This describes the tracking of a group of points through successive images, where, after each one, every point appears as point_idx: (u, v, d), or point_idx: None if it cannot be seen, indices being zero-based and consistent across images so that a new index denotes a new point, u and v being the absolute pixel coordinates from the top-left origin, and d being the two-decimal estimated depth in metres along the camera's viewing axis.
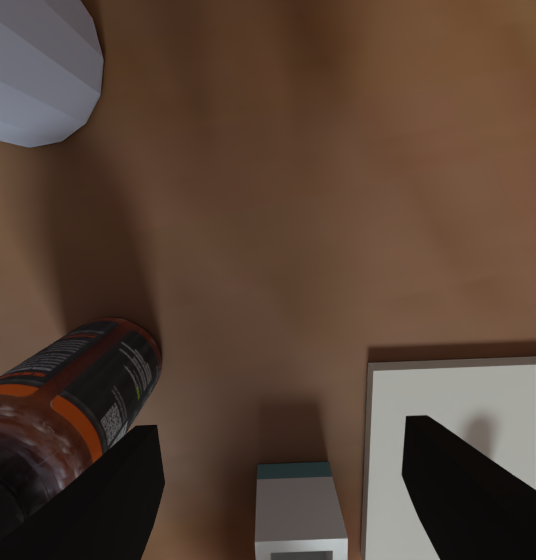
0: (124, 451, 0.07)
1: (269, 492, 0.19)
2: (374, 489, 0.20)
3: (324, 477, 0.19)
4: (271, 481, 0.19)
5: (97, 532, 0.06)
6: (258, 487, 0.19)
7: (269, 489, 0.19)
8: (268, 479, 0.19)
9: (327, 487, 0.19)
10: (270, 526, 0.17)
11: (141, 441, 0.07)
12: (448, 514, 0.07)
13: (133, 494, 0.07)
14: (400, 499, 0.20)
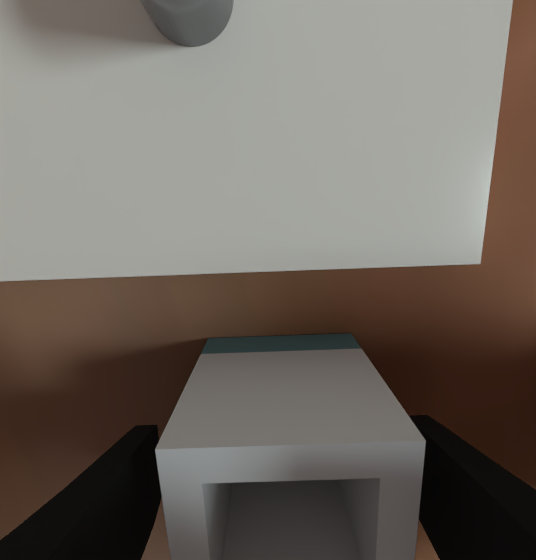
0: (124, 451, 0.07)
1: None
2: (240, 258, 0.09)
3: None
4: None
5: (97, 532, 0.06)
6: None
7: None
8: None
9: None
10: None
11: (141, 441, 0.07)
12: (448, 514, 0.07)
13: (133, 494, 0.07)
14: (269, 192, 0.08)
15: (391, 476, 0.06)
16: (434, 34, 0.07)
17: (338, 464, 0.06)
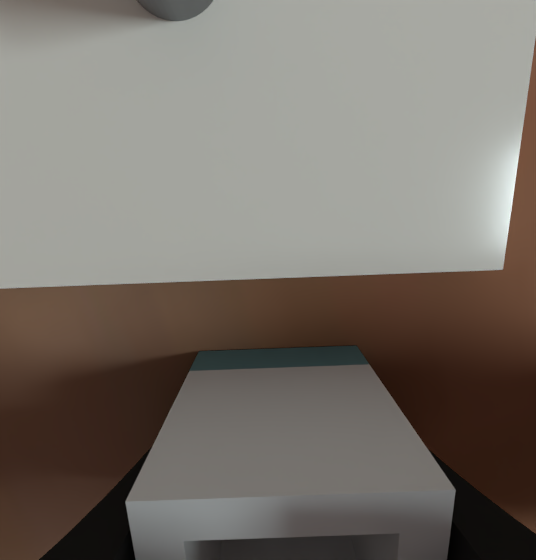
0: None
1: None
2: (233, 264, 0.08)
3: None
4: None
5: None
6: None
7: None
8: None
9: None
10: None
11: None
12: None
13: None
14: (265, 189, 0.07)
15: (413, 531, 0.05)
16: (455, 7, 0.06)
17: (349, 518, 0.05)
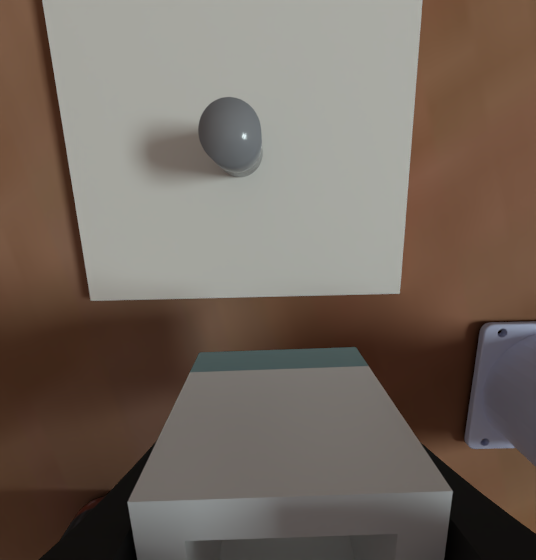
0: None
1: None
2: (262, 288, 0.15)
3: None
4: None
5: None
6: None
7: None
8: None
9: None
10: None
11: None
12: None
13: None
14: (279, 253, 0.15)
15: (411, 533, 0.05)
16: (369, 173, 0.14)
17: (347, 518, 0.05)
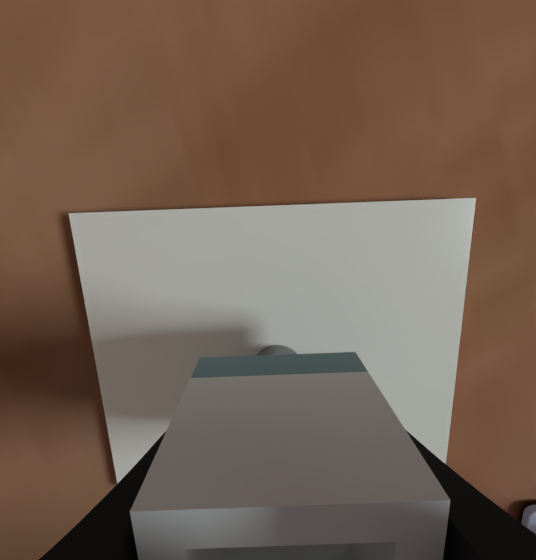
0: None
1: None
2: None
3: None
4: None
5: None
6: None
7: None
8: None
9: None
10: None
11: None
12: None
13: None
14: None
15: (409, 539, 0.05)
16: (413, 384, 0.13)
17: (347, 526, 0.05)
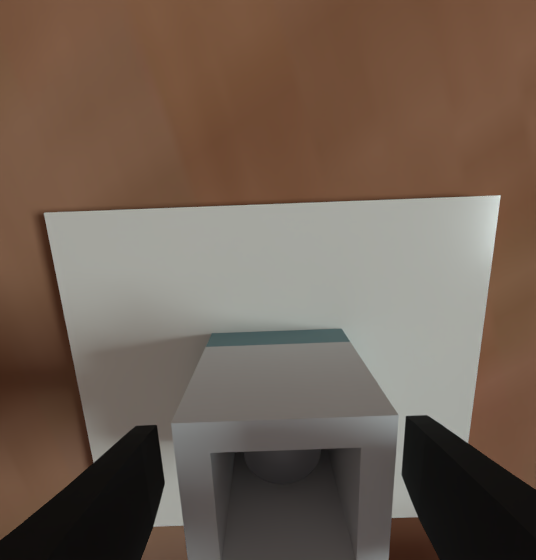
0: (124, 451, 0.07)
1: None
2: None
3: None
4: None
5: (97, 532, 0.06)
6: None
7: None
8: None
9: None
10: None
11: (141, 441, 0.07)
12: (448, 513, 0.07)
13: (133, 494, 0.07)
14: None
15: (370, 446, 0.07)
16: (428, 401, 0.12)
17: (325, 435, 0.07)
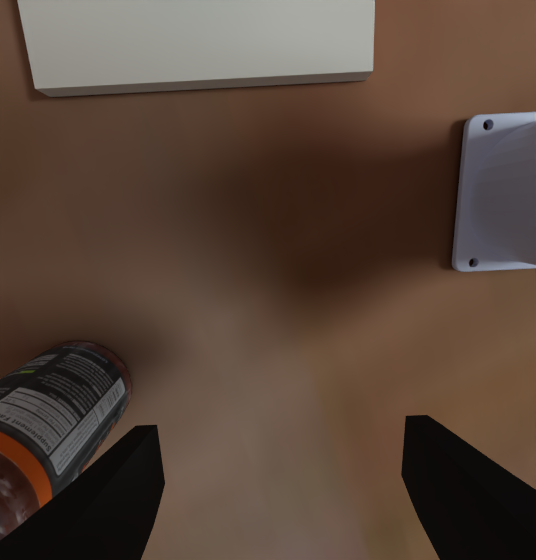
0: (124, 451, 0.07)
1: None
2: (221, 68, 0.14)
3: None
4: None
5: (97, 532, 0.06)
6: None
7: None
8: None
9: None
10: None
11: (141, 441, 0.07)
12: (448, 514, 0.07)
13: (133, 494, 0.07)
14: (238, 22, 0.13)
15: None
16: None
17: None
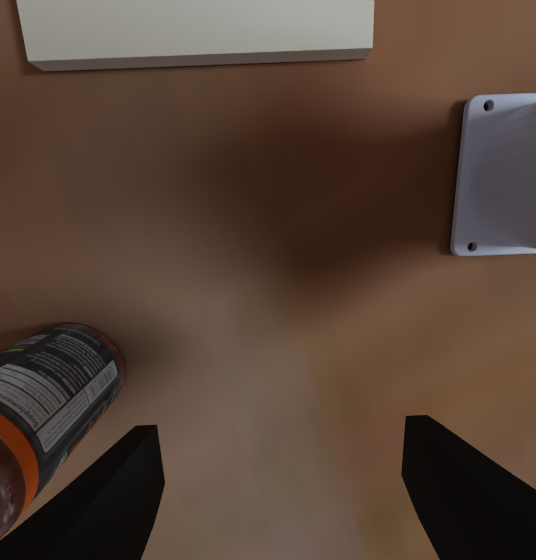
0: (124, 451, 0.07)
1: None
2: (218, 43, 0.14)
3: None
4: None
5: (97, 532, 0.06)
6: None
7: None
8: None
9: None
10: None
11: (141, 441, 0.07)
12: (448, 514, 0.07)
13: (133, 494, 0.07)
14: None
15: None
16: None
17: None
